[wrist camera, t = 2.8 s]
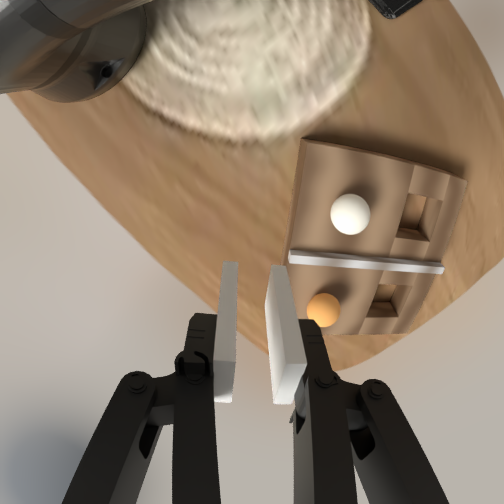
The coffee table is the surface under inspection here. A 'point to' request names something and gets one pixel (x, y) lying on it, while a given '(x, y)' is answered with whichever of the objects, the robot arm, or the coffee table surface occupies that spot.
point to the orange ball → (324, 309)
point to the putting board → (366, 235)
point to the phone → (393, 7)
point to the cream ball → (350, 214)
